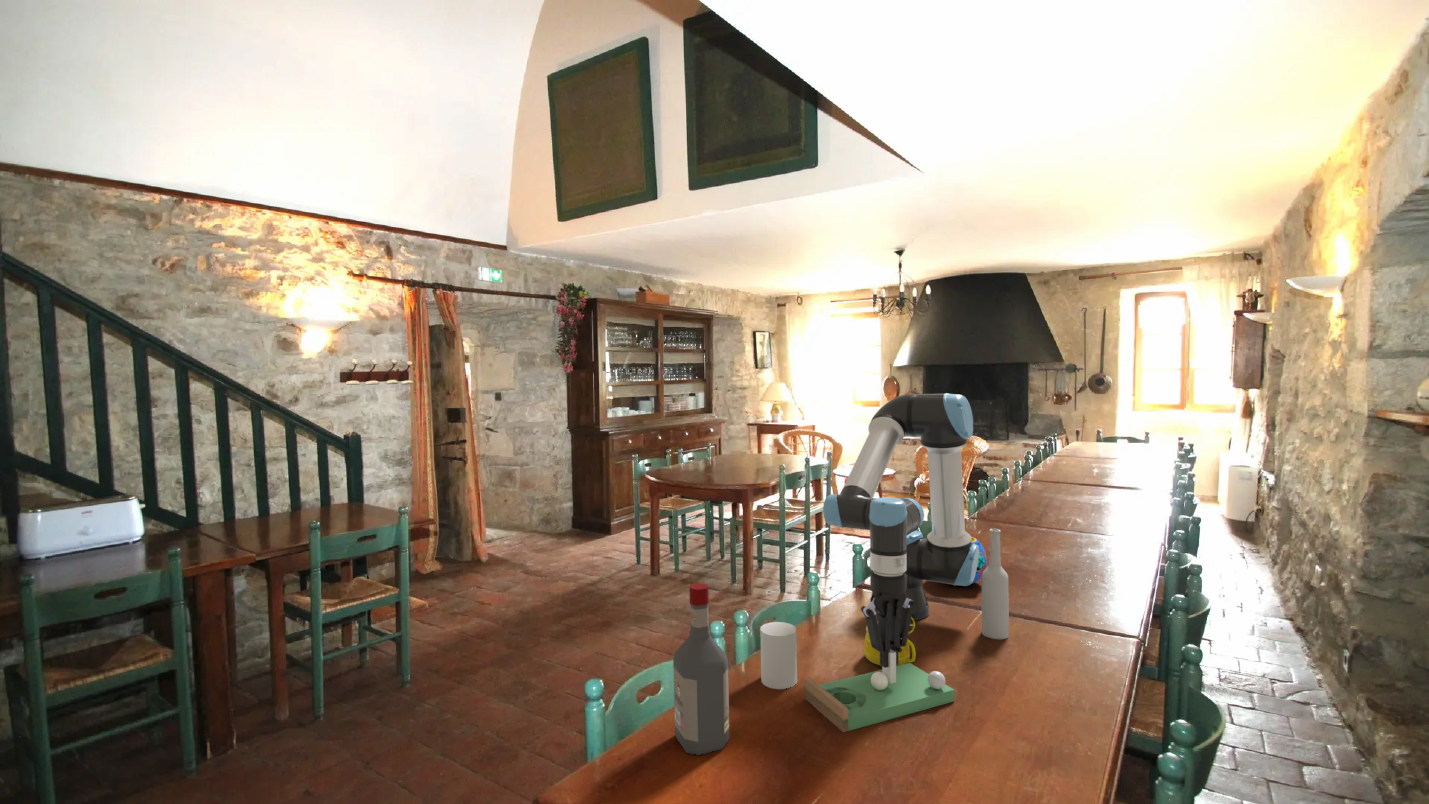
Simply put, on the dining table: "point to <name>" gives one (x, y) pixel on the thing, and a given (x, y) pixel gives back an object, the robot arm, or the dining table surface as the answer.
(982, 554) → the blue painted round piece
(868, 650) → the mug
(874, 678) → the ball
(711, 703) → the liquor
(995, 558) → the bottle
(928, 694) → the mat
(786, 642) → the cup
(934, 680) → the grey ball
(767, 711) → the dining table surface
